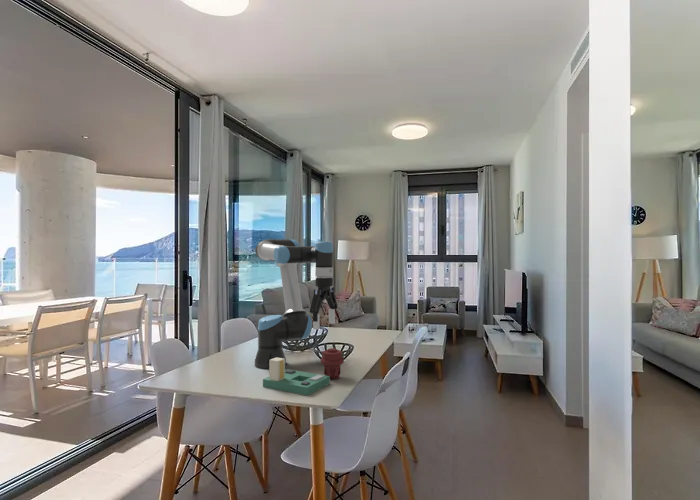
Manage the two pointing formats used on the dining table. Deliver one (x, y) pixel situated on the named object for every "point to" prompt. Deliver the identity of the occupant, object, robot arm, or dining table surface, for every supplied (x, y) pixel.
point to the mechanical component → (332, 362)
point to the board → (298, 382)
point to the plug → (276, 369)
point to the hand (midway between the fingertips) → (324, 326)
